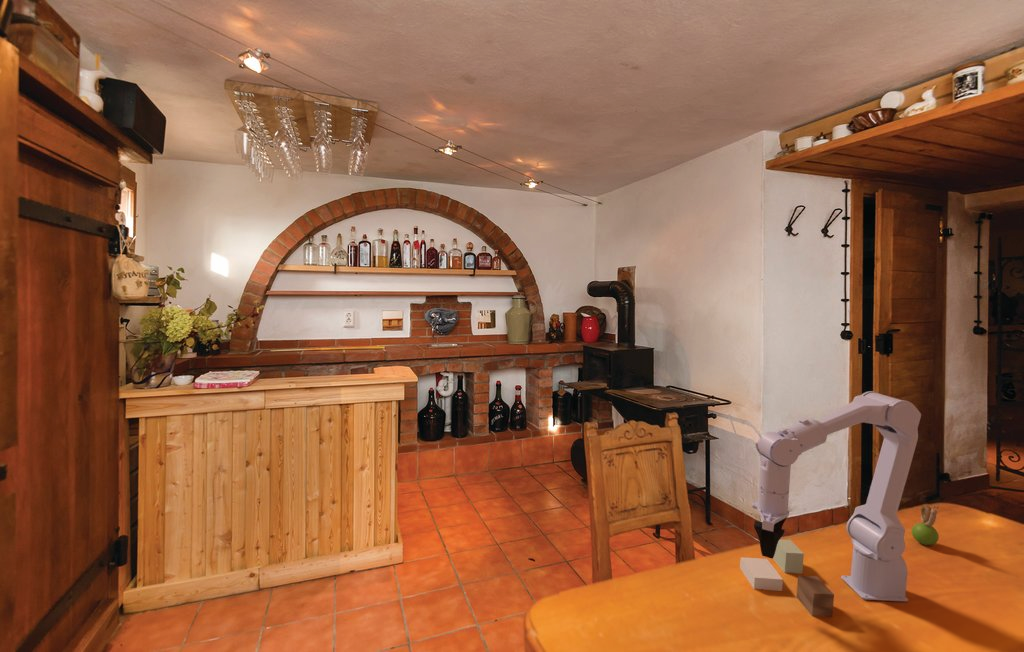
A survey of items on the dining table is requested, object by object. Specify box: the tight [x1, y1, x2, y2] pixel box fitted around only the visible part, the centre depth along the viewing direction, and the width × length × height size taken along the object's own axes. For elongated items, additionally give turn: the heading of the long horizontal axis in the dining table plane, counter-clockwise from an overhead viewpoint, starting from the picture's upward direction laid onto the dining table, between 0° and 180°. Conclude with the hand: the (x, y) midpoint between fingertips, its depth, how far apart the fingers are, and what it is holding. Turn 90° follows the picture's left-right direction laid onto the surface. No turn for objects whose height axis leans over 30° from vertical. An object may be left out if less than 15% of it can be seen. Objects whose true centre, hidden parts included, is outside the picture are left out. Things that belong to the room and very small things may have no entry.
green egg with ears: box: [911, 504, 940, 546], centre depth 127 cm, size 5×6×12 cm
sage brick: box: [773, 539, 804, 575], centre depth 116 cm, size 4×6×5 cm, turn 177°
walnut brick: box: [796, 575, 835, 618], centre depth 101 cm, size 4×6×5 cm, turn 177°
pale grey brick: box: [739, 556, 784, 592], centre depth 111 cm, size 6×8×3 cm
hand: (770, 548), depth 106 cm, fingers open, 7 cm apart
